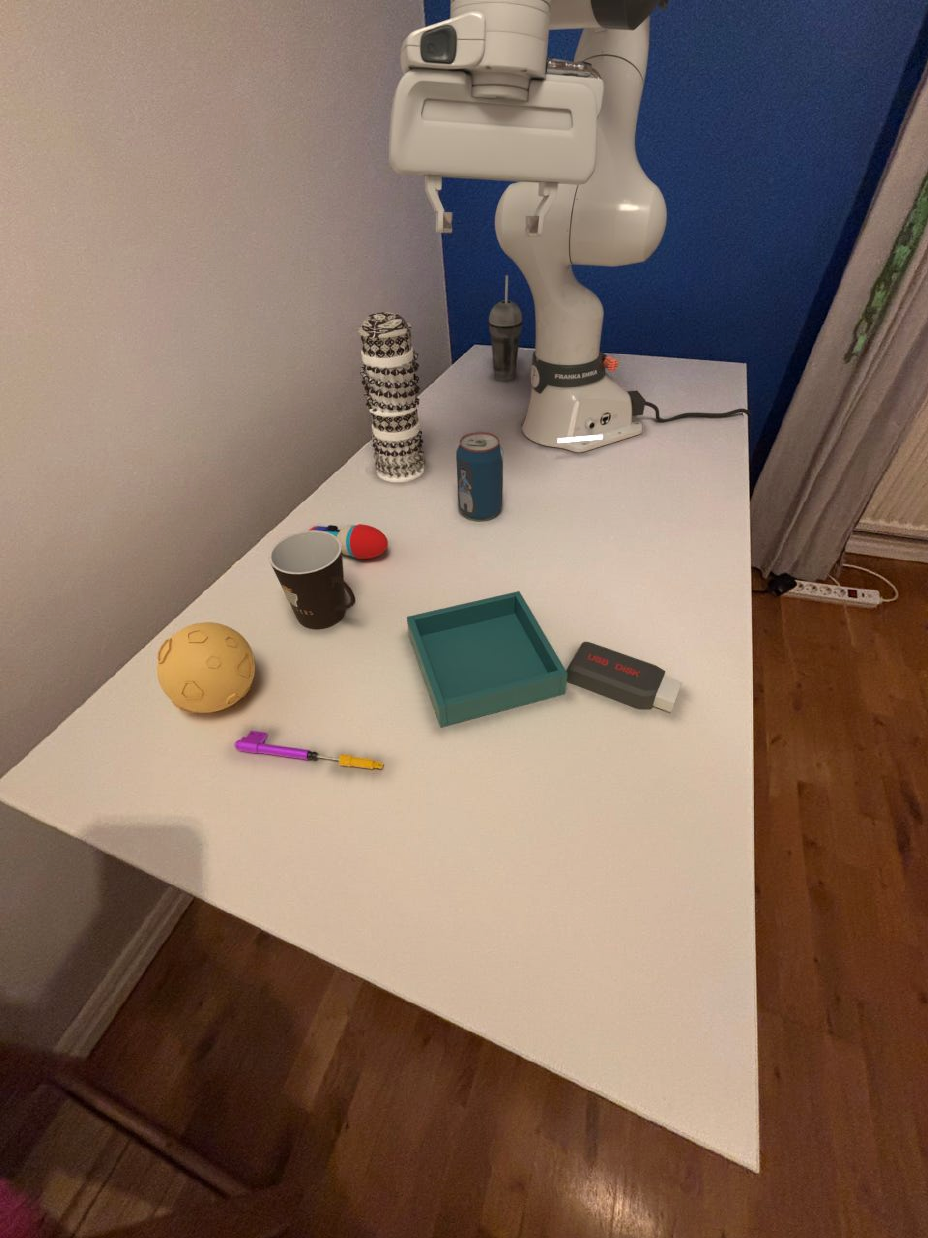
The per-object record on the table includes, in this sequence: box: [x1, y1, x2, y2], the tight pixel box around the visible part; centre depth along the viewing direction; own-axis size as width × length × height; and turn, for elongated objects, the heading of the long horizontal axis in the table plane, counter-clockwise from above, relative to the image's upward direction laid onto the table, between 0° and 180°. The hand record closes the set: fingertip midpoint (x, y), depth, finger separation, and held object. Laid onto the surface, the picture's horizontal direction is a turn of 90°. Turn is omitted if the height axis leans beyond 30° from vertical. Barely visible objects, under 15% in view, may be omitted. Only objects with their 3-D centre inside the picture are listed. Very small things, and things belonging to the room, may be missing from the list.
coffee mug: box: [268, 529, 356, 630], centre depth 74 cm, size 12×9×10 cm
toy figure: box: [309, 523, 389, 560], centre depth 87 cm, size 8×5×15 cm
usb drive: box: [566, 641, 683, 713], centre depth 67 cm, size 5×12×3 cm, turn 61°
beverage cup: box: [487, 274, 524, 382], centre depth 126 cm, size 7×7×20 cm
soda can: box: [455, 431, 504, 522], centre depth 90 cm, size 7×7×12 cm
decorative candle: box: [356, 311, 426, 483], centre depth 96 cm, size 9×9×25 cm
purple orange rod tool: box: [233, 730, 384, 770], centre depth 62 cm, size 3×1×16 cm
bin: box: [406, 590, 568, 728], centre depth 70 cm, size 15×15×4 cm
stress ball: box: [156, 621, 256, 715], centre depth 65 cm, size 10×10×10 cm
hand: (488, 234), depth 62 cm, fingers open, 8 cm apart
